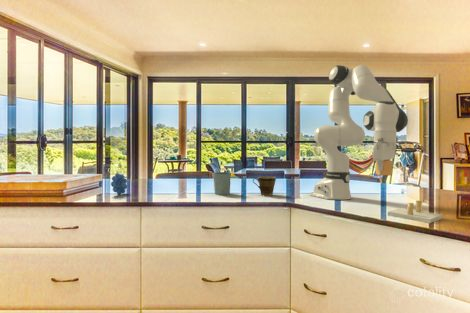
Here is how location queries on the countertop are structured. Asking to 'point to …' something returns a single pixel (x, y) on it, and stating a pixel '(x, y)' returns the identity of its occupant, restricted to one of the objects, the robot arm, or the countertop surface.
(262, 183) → the ceramic cup
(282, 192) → the countertop surface
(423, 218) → the plate
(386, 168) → the orange-brown wooden block
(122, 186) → the grapes
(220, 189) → the grey green pot
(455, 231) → the countertop surface
